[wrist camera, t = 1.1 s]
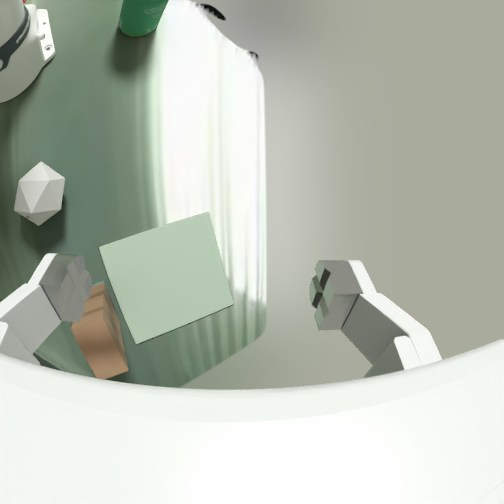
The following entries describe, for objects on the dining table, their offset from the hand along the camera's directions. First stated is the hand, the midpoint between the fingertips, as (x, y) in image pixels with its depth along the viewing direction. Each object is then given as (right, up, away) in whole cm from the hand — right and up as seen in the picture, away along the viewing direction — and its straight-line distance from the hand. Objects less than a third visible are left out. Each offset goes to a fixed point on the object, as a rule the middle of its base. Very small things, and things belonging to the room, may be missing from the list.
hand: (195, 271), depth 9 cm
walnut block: (-23, -8, +32) cm, 40 cm away
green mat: (-12, -4, +38) cm, 40 cm away
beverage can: (-20, +45, +27) cm, 56 cm away
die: (-31, +10, +25) cm, 41 cm away
